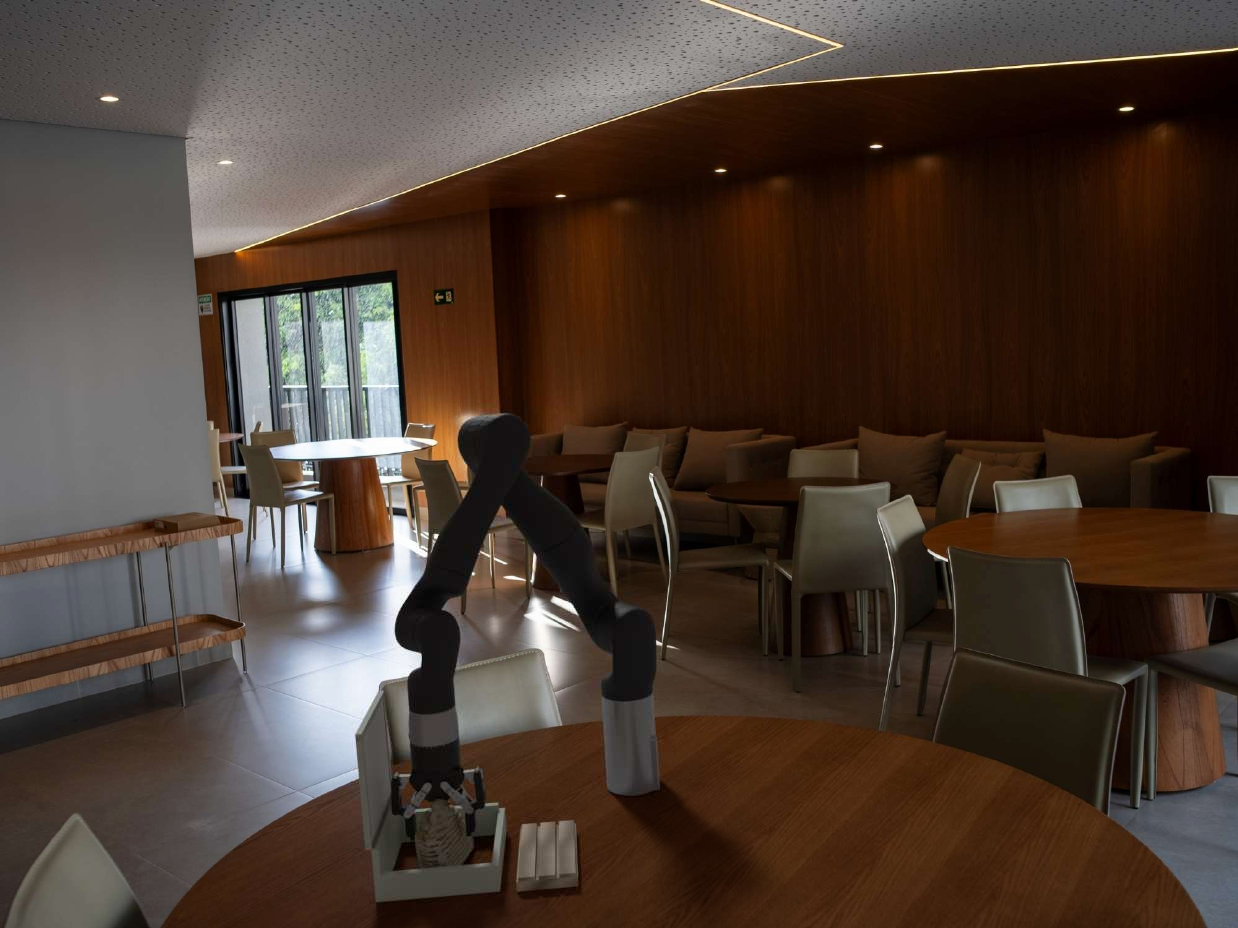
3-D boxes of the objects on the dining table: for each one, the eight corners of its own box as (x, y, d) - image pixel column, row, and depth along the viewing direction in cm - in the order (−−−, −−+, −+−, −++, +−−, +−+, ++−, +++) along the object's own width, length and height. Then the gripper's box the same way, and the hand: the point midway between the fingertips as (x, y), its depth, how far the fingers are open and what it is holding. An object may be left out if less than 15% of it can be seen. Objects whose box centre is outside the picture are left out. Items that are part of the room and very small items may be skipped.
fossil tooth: (482, 850, 162) (444, 890, 148) (446, 846, 164) (405, 886, 149) (482, 780, 162) (445, 813, 147) (446, 776, 163) (405, 809, 149)
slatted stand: (576, 831, 164) (575, 819, 164) (578, 886, 147) (577, 872, 147) (521, 836, 163) (520, 824, 163) (517, 891, 146) (516, 877, 146)
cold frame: (506, 830, 166) (495, 681, 163) (500, 891, 147) (487, 723, 144) (391, 840, 165) (378, 690, 162) (370, 902, 146) (355, 734, 143)
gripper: (482, 723, 158) (489, 821, 159) (391, 729, 157) (399, 828, 159) (479, 741, 150) (485, 844, 152) (383, 747, 149) (391, 851, 151)
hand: (441, 836), depth 155 cm, fingers open, 8 cm apart
